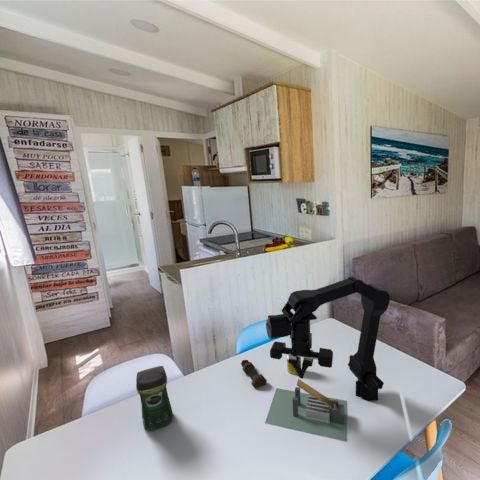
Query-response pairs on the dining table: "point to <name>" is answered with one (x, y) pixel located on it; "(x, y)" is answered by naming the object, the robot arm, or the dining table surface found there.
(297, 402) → the lug fork
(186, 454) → the dining table surface
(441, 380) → the dining table surface
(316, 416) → the heatsink
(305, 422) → the board
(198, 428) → the dining table surface
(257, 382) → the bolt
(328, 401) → the brown long flat bar
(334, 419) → the block
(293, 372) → the supplement bottle
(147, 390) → the coffee jar
